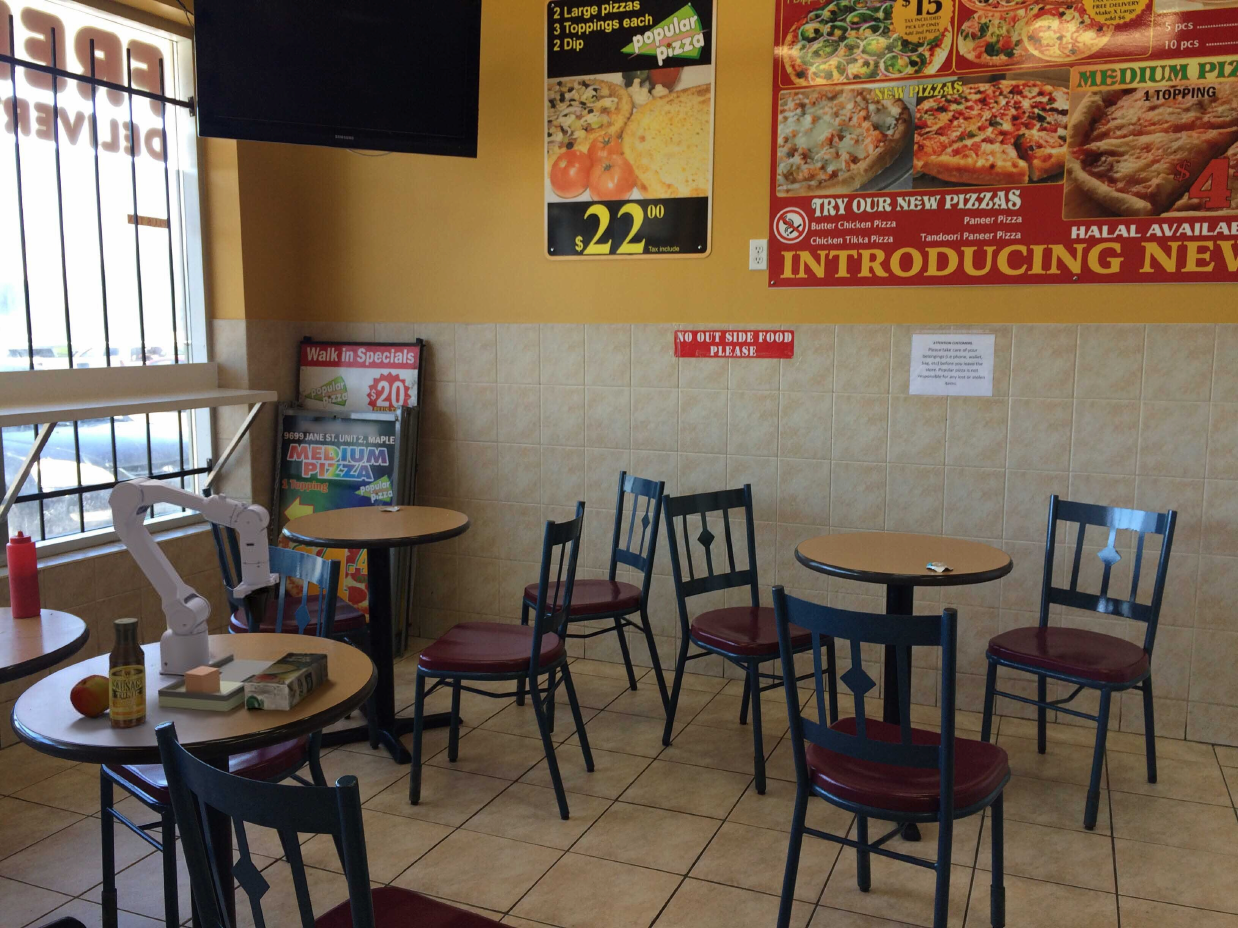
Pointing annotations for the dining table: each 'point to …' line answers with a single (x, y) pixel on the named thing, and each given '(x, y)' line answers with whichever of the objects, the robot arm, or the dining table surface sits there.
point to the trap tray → (230, 686)
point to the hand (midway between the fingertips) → (259, 622)
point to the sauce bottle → (127, 676)
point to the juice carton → (286, 681)
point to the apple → (91, 695)
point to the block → (203, 680)
